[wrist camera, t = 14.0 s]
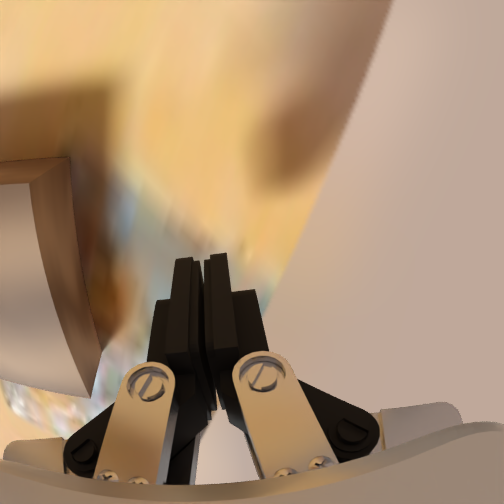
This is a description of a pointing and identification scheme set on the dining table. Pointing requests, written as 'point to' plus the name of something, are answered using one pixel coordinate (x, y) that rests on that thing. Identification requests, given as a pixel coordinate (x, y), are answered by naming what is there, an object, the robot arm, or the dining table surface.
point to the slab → (43, 282)
